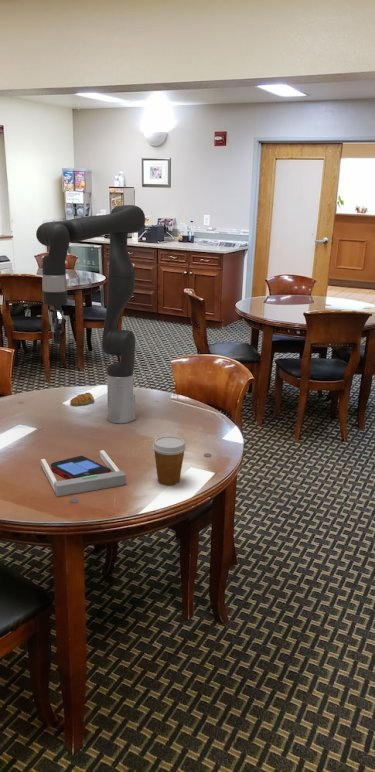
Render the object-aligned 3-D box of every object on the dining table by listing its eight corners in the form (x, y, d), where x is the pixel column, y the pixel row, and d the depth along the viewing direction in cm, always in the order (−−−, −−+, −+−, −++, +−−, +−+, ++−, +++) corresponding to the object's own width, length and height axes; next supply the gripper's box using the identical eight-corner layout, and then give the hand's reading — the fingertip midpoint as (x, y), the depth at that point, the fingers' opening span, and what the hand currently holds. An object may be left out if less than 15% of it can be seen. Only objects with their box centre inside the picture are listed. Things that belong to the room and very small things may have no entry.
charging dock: (103, 455, 186) (103, 445, 185) (125, 484, 168) (125, 473, 167) (41, 465, 178) (40, 455, 177) (57, 496, 160) (56, 485, 159)
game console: (112, 473, 176) (112, 466, 175) (76, 486, 167) (76, 479, 166) (82, 458, 185) (82, 451, 184) (47, 470, 176) (47, 463, 175)
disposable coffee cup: (151, 473, 175) (152, 435, 172) (183, 473, 176) (185, 435, 172) (152, 488, 166) (153, 448, 163) (186, 487, 167) (187, 448, 163)
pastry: (77, 408, 227) (76, 399, 226) (66, 404, 232) (65, 395, 230) (96, 403, 234) (95, 393, 233) (85, 399, 238) (84, 390, 237)
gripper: (72, 291, 182) (73, 347, 187) (61, 285, 193) (63, 338, 198) (47, 292, 179) (49, 348, 184) (38, 286, 190) (40, 339, 195)
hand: (56, 343), depth 191 cm, fingers closed
